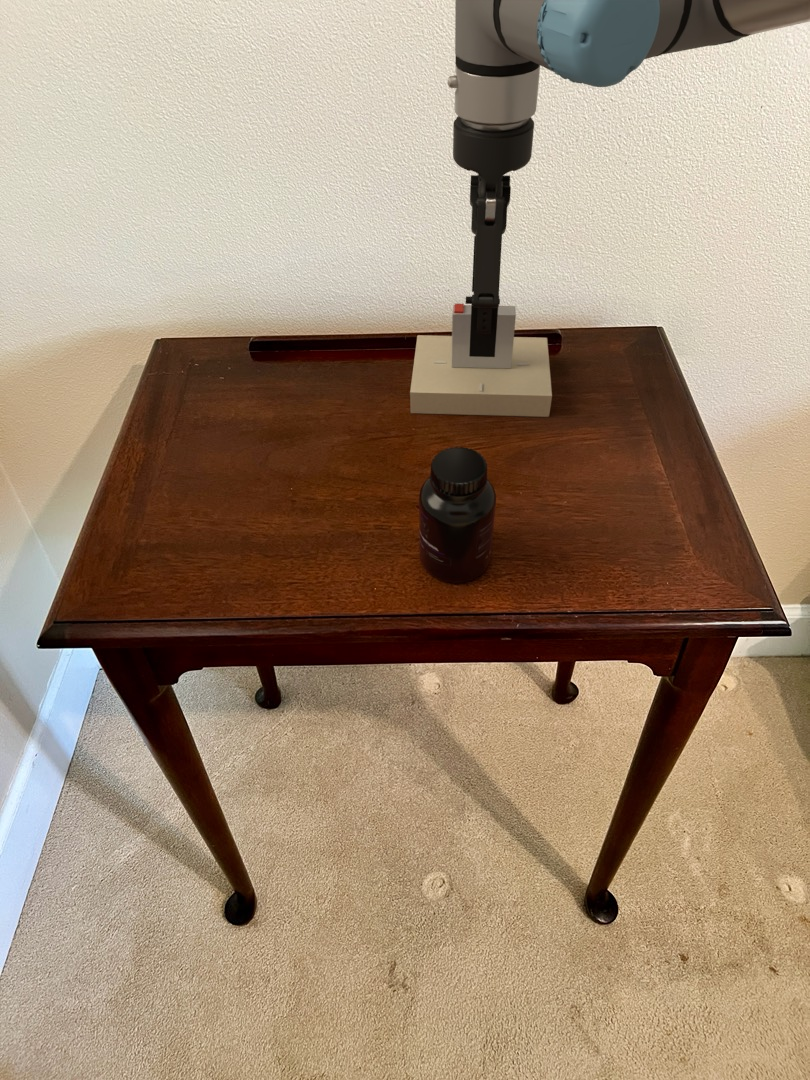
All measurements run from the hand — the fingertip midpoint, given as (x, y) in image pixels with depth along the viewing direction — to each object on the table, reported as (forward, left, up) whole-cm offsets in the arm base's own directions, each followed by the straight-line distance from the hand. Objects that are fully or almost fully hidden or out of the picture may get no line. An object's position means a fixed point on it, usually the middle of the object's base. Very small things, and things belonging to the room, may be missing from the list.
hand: (482, 321), depth 86 cm
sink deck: (0, 0, -9) cm, 9 cm away
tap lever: (0, 0, -5) cm, 5 cm away
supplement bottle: (+2, +29, -9) cm, 30 cm away
